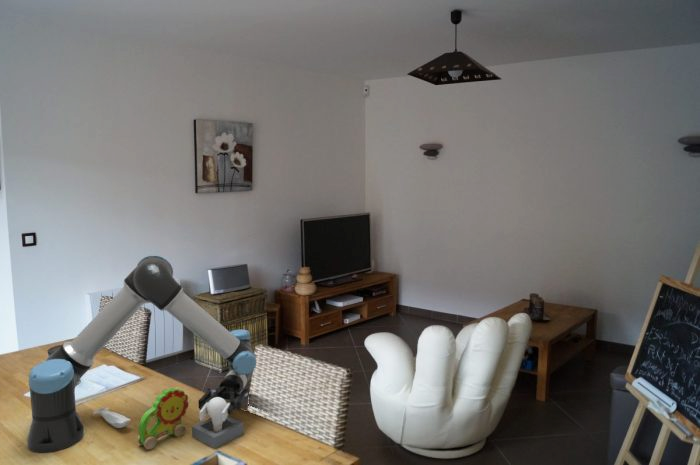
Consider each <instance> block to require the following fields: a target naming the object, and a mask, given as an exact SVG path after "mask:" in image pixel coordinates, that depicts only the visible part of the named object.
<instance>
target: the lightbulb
mask: <svg viewBox="0 0 700 465" xmlns="http://www.w3.org/2000/svg"><path fill="white" fill-rule="evenodd" d="M227 403H228V402H227V401H226V399H223V398H221V397H215V398H212V399H211V400H210V401H209V402H208V404H207V412H208V413H207V415H209V418H211V419H212V424H213V428H214V431H216V432H220V431H221V430H222V423H223V421H222V411H223V410H224V408H225V407H226V405H227Z"/></svg>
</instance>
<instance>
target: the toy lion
mask: <svg viewBox="0 0 700 465" xmlns="http://www.w3.org/2000/svg"><path fill="white" fill-rule="evenodd" d="M188 400H189V396H188V394H186V393H185V391H184V390H182V389H180V388H175V387H170V388H169V389H168V388H165V389H163V390H162V392H161V393H159V394H158V395H157V396H156V398H155V400H154V401H153V402H152V406H151V408H149V409H148V410H146V411H145V412H144V413H143V414H142V416H141V419H140V420H139V424H138V436H137V440H136V442H137V444H138V445H140V446H144V448H145V449H147V450H152V449H153V450H154V448H155V447H156V446H157V444H158V440H159V439H160V438H162V437H163V436H167V435H174V436H175V437H178V438H181V437H183V435H185V433H186V430H187V427H186V426H185V425H184V424H182V418H183V417H184V416H185V415H186V413H187V409H188V407H189V401H188ZM153 417H156V419H157V420H156V421H157V422H155V423H154V425H152V427H151V428H150V429H149V431H148V430H147V429H148V424H149V421H150V420H151V419H152V418H153Z"/></svg>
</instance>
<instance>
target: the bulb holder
mask: <svg viewBox="0 0 700 465" xmlns="http://www.w3.org/2000/svg"><path fill="white" fill-rule="evenodd" d="M244 434H245V433H244V422H241V421H239V420H236V419H234V418H232V417H230V416H229V415H228V416H227V418H226V419H225V421H223V423H222V430H221V431H220V432H216V431H214V428H213V424H212V419H211V417H209V418H208V419H205V420H202V421H200V422H199V423H198V422H197V423H196V424H194V425H192V426H191V435H192V436H191V437H192V438H194V439H195V440H197V441H199V442H201V443H203V444H205V445H207V446H209V447H210V446H211V448H212V447H213V449H214V450H215V449H218V448H219V447H221V446H223V445H225V444H227V443H229V442H231V441H233V440H236V439H237V438H239V437H241V436H242V435H244Z"/></svg>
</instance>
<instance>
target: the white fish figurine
mask: <svg viewBox="0 0 700 465" xmlns="http://www.w3.org/2000/svg"><path fill="white" fill-rule="evenodd" d="M109 409H110V407H102V408H99V409H97V410H95V411H94V412H93V413H92V414H93V415H101V416H102V418H103V419H104V420H105V421H106V422H107V423H108V424H109V425H110V426H112V427H114V428H116V429H121V428H125V427H128V425H129V424H131V420H132V419H131V418H129V417H126V416H125V415H123V414H120V413H118V412H115V411H111V410H109Z"/></svg>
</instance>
